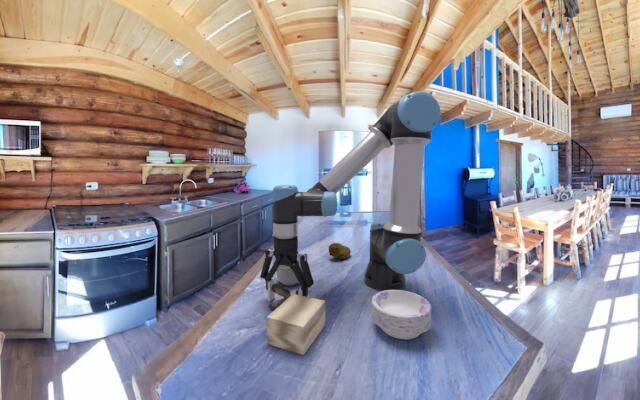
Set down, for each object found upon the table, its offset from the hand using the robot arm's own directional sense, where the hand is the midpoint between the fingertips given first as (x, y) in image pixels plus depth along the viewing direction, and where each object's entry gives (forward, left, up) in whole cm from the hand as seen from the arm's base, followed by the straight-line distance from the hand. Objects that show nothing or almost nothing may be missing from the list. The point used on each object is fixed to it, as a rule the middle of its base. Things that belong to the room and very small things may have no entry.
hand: (286, 303), depth 84 cm
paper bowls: (-35, -1, -1) cm, 35 cm away
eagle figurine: (0, +1, 0) cm, 1 cm away
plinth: (-11, +12, 0) cm, 16 cm away
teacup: (+7, -16, -1) cm, 18 cm away
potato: (-1, -47, -1) cm, 47 cm away
